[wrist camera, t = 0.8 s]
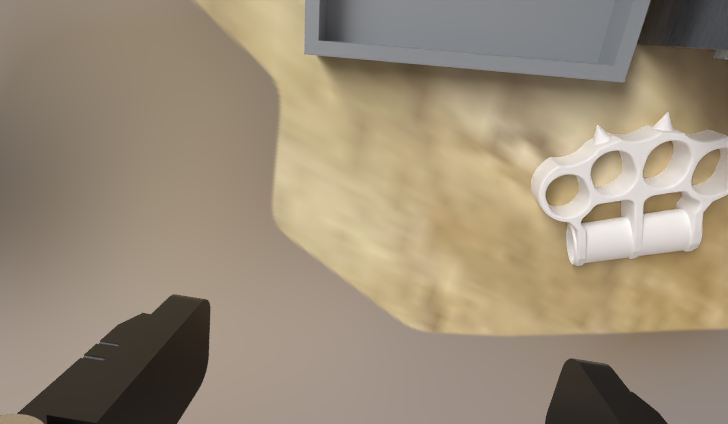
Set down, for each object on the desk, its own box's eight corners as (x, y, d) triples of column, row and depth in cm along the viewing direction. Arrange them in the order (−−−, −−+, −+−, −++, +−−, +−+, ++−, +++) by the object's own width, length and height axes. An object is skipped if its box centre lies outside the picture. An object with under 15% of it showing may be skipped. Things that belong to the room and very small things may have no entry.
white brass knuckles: (536, 259, 46) (525, 133, 41) (716, 235, 43) (731, 93, 38) (544, 276, 43) (534, 141, 38) (739, 251, 40) (759, 99, 35)
